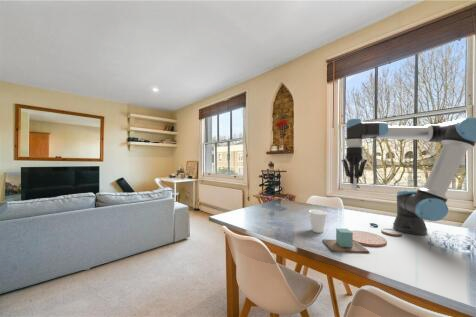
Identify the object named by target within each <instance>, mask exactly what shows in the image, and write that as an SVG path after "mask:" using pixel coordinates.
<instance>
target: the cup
mask: <svg viewBox="0 0 476 317" xmlns="http://www.w3.org/2000/svg"><path fill="white" fill-rule="evenodd" d="M308 214H309V220H310V225H311V226H310V227H311V231H312V232H314V233H318V234H322V233H323V232H324V230H325V224H326V220H327V214H328V212H327V211H324V210H322V209H321V210H320V209H310V210H308Z"/></svg>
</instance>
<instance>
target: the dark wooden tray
mask: <svg viewBox="0 0 476 317" xmlns="http://www.w3.org/2000/svg"><path fill="white" fill-rule="evenodd" d="M321 242H323V243H324V244H325V246H326V247H327V248H328V249H329V251H330V252H332V253H350V254H351V253H355V254H370V250H368V249H367V248H366V247H365V246H363V245H362V244H361V243H359V242H358V241H357V240H353V247H341V246H340V245H339V244H338V243H337V242H336V239H325V238H324V239H322V241H321Z"/></svg>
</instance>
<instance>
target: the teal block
mask: <svg viewBox="0 0 476 317" xmlns="http://www.w3.org/2000/svg"><path fill="white" fill-rule="evenodd" d="M353 235H354V233H353V232H352V231H351V230H350V229H348V228H335V240H336V242H337V243H338V244H339V245H340V246H341V247H353V238H354V236H353Z"/></svg>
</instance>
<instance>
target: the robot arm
mask: <svg viewBox="0 0 476 317" xmlns="http://www.w3.org/2000/svg"><path fill="white" fill-rule="evenodd" d="M345 129H346V149H345V150H346V156H345V158H343V159H341V160H340V161H341V162H342V165H343V167H344V171H345V172H344V173H345V176H346V177H348V178H349V184H351V188H350V189H351V190H353V191H357V187H358V186H357V185H358V183H359V179H360V178H362V177H363V175H364V174H363V173H364V169H365V168H366V167H365V165H366V164H367V163H368V159H365V158H363V147H362V146H363V140H367V139H376V140H377V139H381V140H383V139H384V140H415V141H416V140H418V141H423V142H426V143H427V142H428V143H441V145H442V148H441V150H440V152H439V154H438V156H437V158H436V160H435V162H434V164H433V166H432V168H431V169H430V172H429V174H428V176H427V178H426V180H425V181H424V182H425V183H424V185H423V186H422V187H420V188H417V190H398V191H397V192H396V216H395V219H394V222H393V223H392V224H393V225H392V228H393V229H394V230H395V231H399V232H402V233H406V234H410V235H417V236H418V235H419V236H424V235H428V228H427V225H426V223H425V221H428V222H438V221H441V220H444V219H445V218H446V217H447V216H448V213H449V207H448V205H447V202H448V198H447V196H446V193H447V192H448V190H449V188H450V186H451V184H452V182H453V180H454V178H455V176H456V174H457V171H458V170H459V168H460V165H461V163H462V162H463V159H464V158H465V155H466V153H467V151H469V150H472V149H474V147H475V145H476V117H473V116H472V117H471V116H469V117H462V118H459V119H455V120H452V121H446V122H445V121H444V122H442V123H437V124H426V125H424V126H417V125H416V126H414V125H413V126H411V125H410V126H409V125H408V126H407V125H401V126H399V125H392V126H391V125H389V124H388V122H386V121H373V122H372V121H371V122H363V119H362V118H358V117H356V118H351V119H348V120H347V121H346V127H345Z"/></svg>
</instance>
